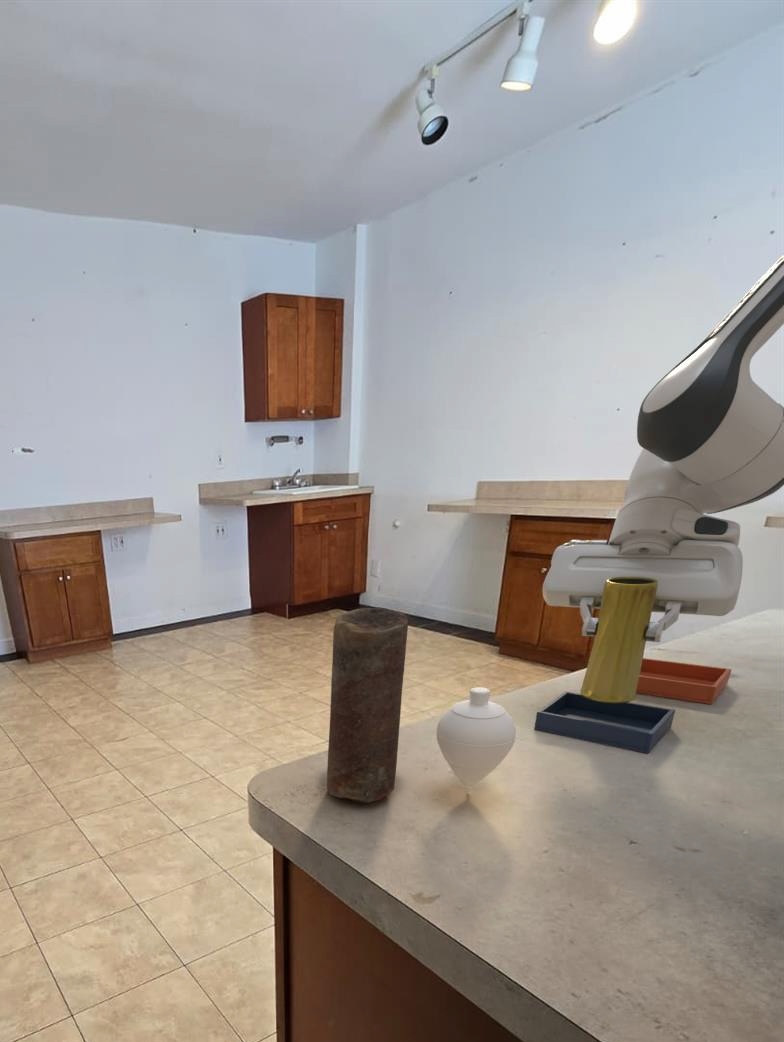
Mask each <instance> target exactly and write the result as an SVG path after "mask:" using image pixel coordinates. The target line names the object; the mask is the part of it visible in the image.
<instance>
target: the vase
mask: <svg viewBox="0 0 784 1042" xmlns="http://www.w3.org/2000/svg"><path fill="white" fill-rule="evenodd" d="M657 586H658V581H657V580H656V579H652V578H644V577H615V578H609V579H607V580H606V582H605V585H604V590H603V596H602V601H601V607H600V609H599V612H598V617H597V618H598V623H597V628H596V633H595V637H594V641H593V645H592V648H591V651H590V655H589V658H588V662H587V666H586V669H585V673H584V677H583V681H582V685H581V688H580V691H579V694H581V695H582V696H584V697H585V698H588V699H590V700H594V701H598V702H604V703H627V702H633V701H635V700H636V699H637V693H636V689H637V684H638V680H639V675H640V671H641V666H642V660H643V658H644V654H645V648H646V642H647V641H645V637H646V632H647V630H648V625H649V623H650V622H651V617H652V613H653V612H652V608H653V604H654V599H655V595H656V591H657Z"/></svg>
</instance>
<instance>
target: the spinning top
mask: <svg viewBox="0 0 784 1042" xmlns="http://www.w3.org/2000/svg"><path fill="white" fill-rule="evenodd" d="M490 696H491V690H490V689H489V688H486V687H481V686H480V687H479V686H477V687H472V688H470V690H469V699H466V700H462V701H459V702H456V703H454V704H453V705H451V707H450V708H449V709H447V710H446V711H445V712H444V713H443V715H442V716H441V717H440V719H439V721H438V722H437V726H436V731H435V732H436V741H437V744H438V748H439V750H440V752H441V753H442V756H443V758H444V760H445V761H446V763H447V764H448V766H449V768H450V769H451V770H452V773H454V775H455V776H456V777H457V778H458V780H459V781H460V783H462V785H463V786H465V787H466V791H465V793H466V795H467V794H468V795H470V794H471V788H473V787H475V786H477V785H478V784H479V783H481V782H483V780H484V779H485V778H486V777H488V776H489V775H490V774H491V773H492V772H493V771H495V770H496V769H497V767H498V766H499V765H500V764H501V763H502V762H503V761H504V760H505V758H506V757H507V756H508V755H509V753H510V752H511V750H512V749H513V746H514V745H515V741H516V737H517V730H516V725H515V723H514V720H513V718H512V717H511V715H510V714H509V713H508V712H507V711H506V708H505V707H503V706H502V705H500V704H499V703H496V702H493V701H491V700H489V699H490Z"/></svg>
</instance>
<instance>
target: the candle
mask: <svg viewBox="0 0 784 1042" xmlns="http://www.w3.org/2000/svg"><path fill="white" fill-rule="evenodd" d="M408 629H409V620H408V617H407V615H406V614H405V613H403V612H402V611H399V610H394V609H389V608H385V607H365V608H363V607H360V608H356V609H353V610H349V611H347V612H346V613H343V614H340V615H339V616H338V617H337V618H336V620H335V622H334V626H333V632H332V634H333V635H332V637H333V639H332V662H331V663H332V665H331V679H330V680H331V684H330V685H331V686H330V708H329V710H330V711H329V712H330V713H329V729H328V730H329V732H328V750H327V769H326V770H327V771H326V789H327V793H329V794H330V795H331V796H333V797H337V798H341V799H343V798H344V799H349V800H350V801H352V802H354V803H361V804H368V803H369V804H370V803H371V802H375V801H379V800H382V799H383V798H384V797H386V796H389V795H390V794H391V793H393V791H394V790H395V784H396V774H397V765H398V764H397V763H398V749H399V737H400V725H401V715H402V714H401V713H402V711H401V710H402V698H403V697H402V696H403V695H402V694H403V685H404V674H405V665H406V664H405V663H406V654H407V641H408Z"/></svg>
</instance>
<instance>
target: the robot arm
mask: <svg viewBox="0 0 784 1042" xmlns="http://www.w3.org/2000/svg"><path fill="white" fill-rule="evenodd" d="M783 325H784V254H783V255H782V256H781V257H780V258H779V259H778V260H777V261H776V262H775V263H774V264H773V265H772V266H771V267H770V268H769V269H768V270H767V271H766V272H765V274H763V275H762V277H760V279H758V281H756V283H755V284H754V285H753V286H752V287H751V288H750V290H748V291H747V292H746V294H745V295H744V296H743V297H742V298H741V299H740V300H739V301H738V302H737V304H735V305H734V307H732V309H731V310H730V311H729V312H728V313H727V314H726V315H725V316H724V317H723V318H722V320H721V321H720V322H719V323H718V324H716V326H715V327H714V328H713V329H712V330H711V331H710V332H709V334H708V335H706V337H704V339H703V340H702V341H701V342H700V343H699V344H698V345H697V346H696V347H695V348H694V349H693V350H692V351H690V352H689V354H688V355H687V356H685V357H684V358H683V359H682V360H681V361H680V362H679V363H677V364H676V365H675V366H674V367H673V368H672V369H671V370H670V371H668V372H667V373H666V374H665V375H664V376H663V377H662V378H661V379H660V380H659V381H658V382H657V383H656V384H655V385H654V386H653V387H652V388H651V390H650V391H649V392H648V393H647V394H646V396H645V397H644V398H643V401H642V402H641V404H640V408H639V411H638V415H637V423H636V439H637V443H638V445H639V446H640V447H641V448H642V450H641V452H640V453H639V454H638V457H637V459H636V461H635V463H634V466H633V468H632V470H631V473H630V475H629V478H628V481H627V483H626V486H625V491H624V496H623V497H624V504H623V505H622V507H621V508H620V509H619V511H618V513H617V515H616V516H615V517H616V518H615V520H614V522H613V523H614V524H613V527H612V529H611V532H610V536H609V539H591V540H582V539H571V540H570V541H569V542H566V543H563V544H561V545H559V546H557V547H556V548H555V550H554V552H553V554H552V556H551V560H550V565H551V566H550V568H549V570H548V572H547V574H546V576H545V579H544V581H543V584H542V597H543V600H544V602H545V603H546V604H547V605H548V606H550V607H563V608H579V615H580V617H581V619H582V621H583V624H582V628H581V636H582V637H583V636H584V637H592V638H593V637H594V638H595V633H596V628H597V623H598V617H593V616H592V615H593V613H594V610H595V609H597V610H600V607H601V601H602V596H603V590H604V585H605V582H606V580H607V579H609V578H615V577H644V578H652V579H656V580H657V581H658V586H657V591H656V595H655V599H654V604H653V608H652V613H661V614H662V613H664V615H663V616H662V617H661V618H660V619H659V620H658V621H650V623H649V625H648V630H647V632H646V637H645V641H646V642H651V643H660V642H661V639H662V636H663V633H664V631H666V630H667V629H669V628H670V627H671V626H672V625H674V624H675V623H676V622H677V621H678V620H679V616H680V615H681V614H682V615H694V616H711V617H725V616H726V615H728V614H729V613H731V612H732V611H733V610H735V608H736V604H737V601H738V598H739V595H740V594H739V593H740V589H741V583H742V579H743V578H742V577H743V570H744V569H743V567H744V566H743V565H744V561H743V560H744V559H743V553H742V550H741V548H740V547H739V544H740V539H741V525H740V524H739V522H736V521H734V520H729V519H724V518H720V517H715V516H712V515H713V514H716V513H721V512H725V511H729V510H732V509H736V508H740V507H743V506H746V505H750V504H753V503H755V502H756V503H757V502H758V501H760V500H762V499H765V498H767V497H769V496H772V495H773V494H775V493H776V492H777V491H779V490H780V489H781V488H783V486H784V406H783V405H782V404H781V403H778V402H777V401H776V400H774V398H772V396H770V395H769V394H768V393H767V392H766V391H765V390H764V389H762V388H761V387H760V386H759V385H758V384H757V383H756V382H755V381H754V380H753V378H752V375H751V369H750V367H751V361H752V359H753V357H754V356H755V355H756V354H757V353H758V351H759V350H761V349H762V348H763V346H764V345H765V344H766V343H767V342H768V341H769V340H770V339H771V338H772V337H773V336H774V335H775V334H776V333H777V332H778V331H779V330H780V329H781V328H782V327H783Z"/></svg>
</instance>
